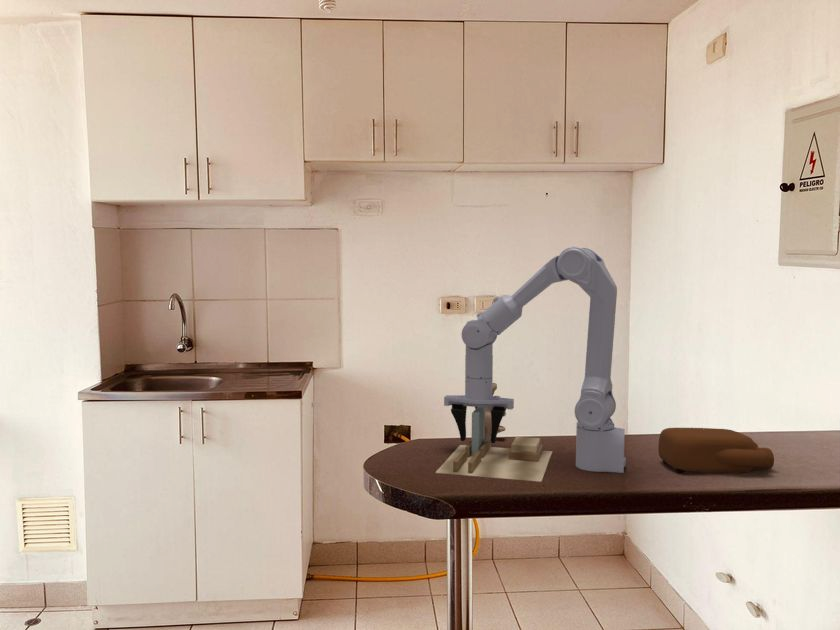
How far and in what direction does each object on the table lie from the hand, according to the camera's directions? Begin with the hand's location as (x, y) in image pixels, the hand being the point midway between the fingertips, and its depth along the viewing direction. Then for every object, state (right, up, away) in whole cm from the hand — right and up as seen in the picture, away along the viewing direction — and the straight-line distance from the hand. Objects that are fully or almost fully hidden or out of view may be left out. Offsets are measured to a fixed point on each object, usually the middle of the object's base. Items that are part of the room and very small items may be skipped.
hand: (478, 440), depth 151 cm
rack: (+3, -4, -7) cm, 9 cm away
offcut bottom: (+10, -3, -3) cm, 10 cm away
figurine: (+4, -3, +13) cm, 13 cm away
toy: (+47, -5, -7) cm, 47 cm away
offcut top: (+10, -1, -3) cm, 10 cm away
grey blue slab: (0, -2, 0) cm, 2 cm away
